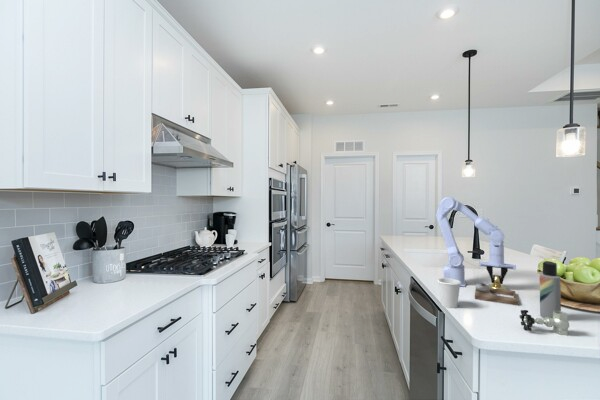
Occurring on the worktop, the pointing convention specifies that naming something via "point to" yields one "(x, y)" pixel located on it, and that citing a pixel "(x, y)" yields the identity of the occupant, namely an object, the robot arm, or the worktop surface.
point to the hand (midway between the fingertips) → (497, 283)
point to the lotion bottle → (549, 290)
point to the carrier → (485, 294)
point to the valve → (547, 322)
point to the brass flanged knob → (497, 283)
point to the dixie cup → (449, 292)
